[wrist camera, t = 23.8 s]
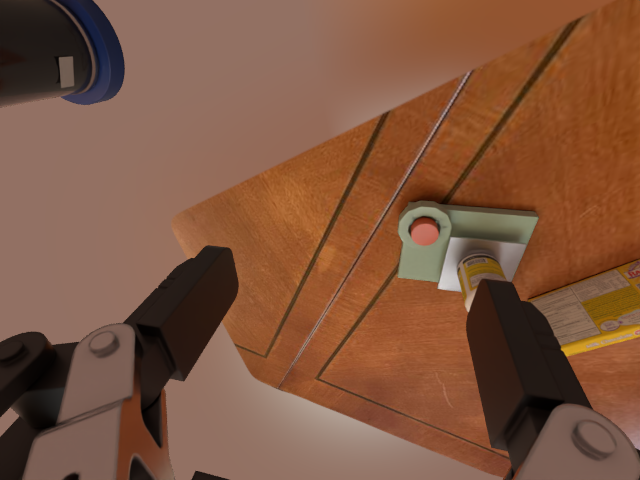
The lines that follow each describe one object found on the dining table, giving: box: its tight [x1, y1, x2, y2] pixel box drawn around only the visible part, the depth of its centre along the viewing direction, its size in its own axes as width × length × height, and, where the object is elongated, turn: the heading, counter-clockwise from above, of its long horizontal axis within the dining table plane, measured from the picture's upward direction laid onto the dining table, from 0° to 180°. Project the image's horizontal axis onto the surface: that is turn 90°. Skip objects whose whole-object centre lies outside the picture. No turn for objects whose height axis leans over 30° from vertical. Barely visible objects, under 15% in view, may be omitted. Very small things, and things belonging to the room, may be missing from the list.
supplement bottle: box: [457, 254, 507, 313], centre depth 34 cm, size 5×5×8 cm
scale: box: [398, 201, 539, 282], centre depth 38 cm, size 15×12×3 cm
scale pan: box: [437, 236, 527, 292], centre depth 38 cm, size 8×8×1 cm
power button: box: [411, 217, 439, 246], centre depth 36 cm, size 3×3×2 cm
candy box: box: [528, 259, 640, 356], centre depth 35 cm, size 16×2×8 cm, turn 133°
